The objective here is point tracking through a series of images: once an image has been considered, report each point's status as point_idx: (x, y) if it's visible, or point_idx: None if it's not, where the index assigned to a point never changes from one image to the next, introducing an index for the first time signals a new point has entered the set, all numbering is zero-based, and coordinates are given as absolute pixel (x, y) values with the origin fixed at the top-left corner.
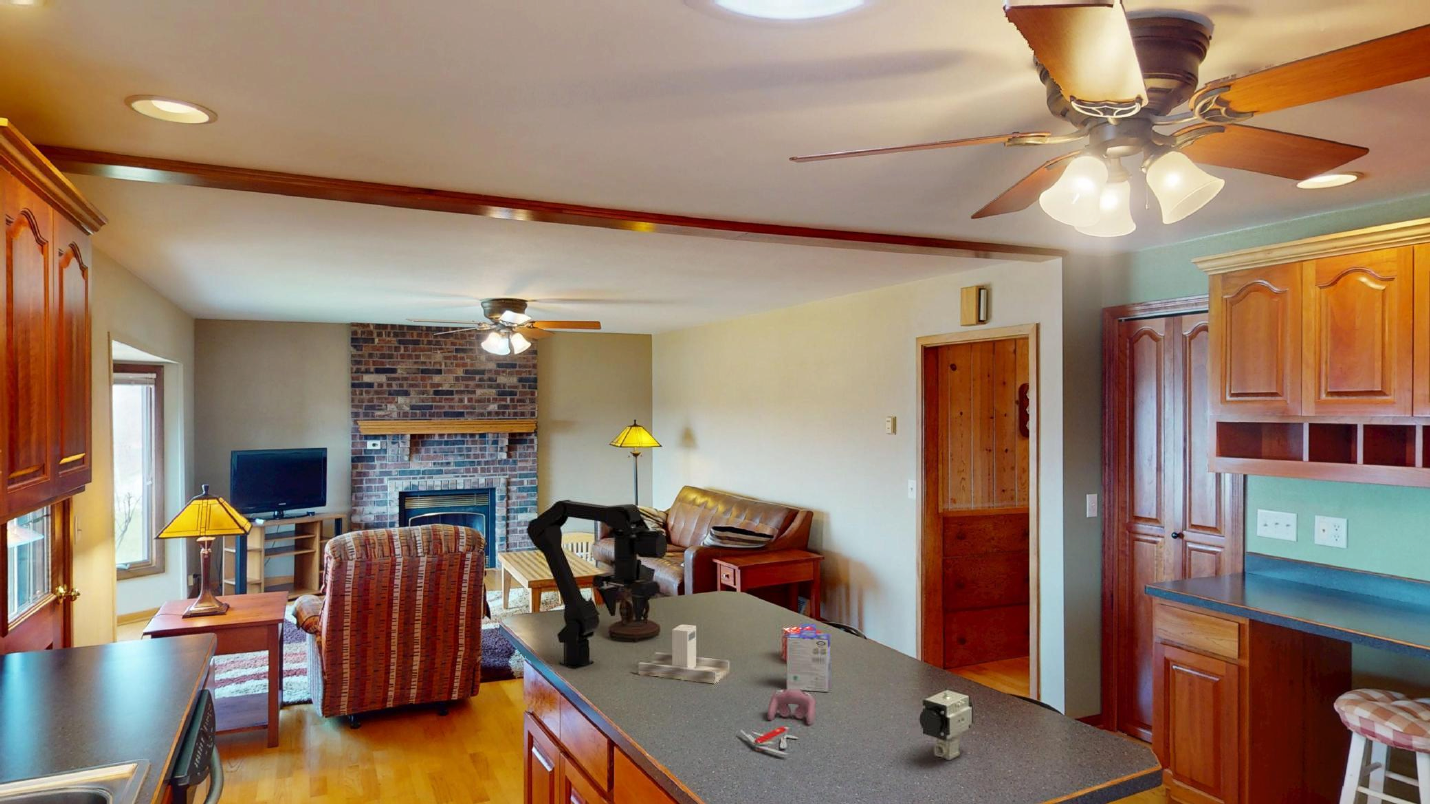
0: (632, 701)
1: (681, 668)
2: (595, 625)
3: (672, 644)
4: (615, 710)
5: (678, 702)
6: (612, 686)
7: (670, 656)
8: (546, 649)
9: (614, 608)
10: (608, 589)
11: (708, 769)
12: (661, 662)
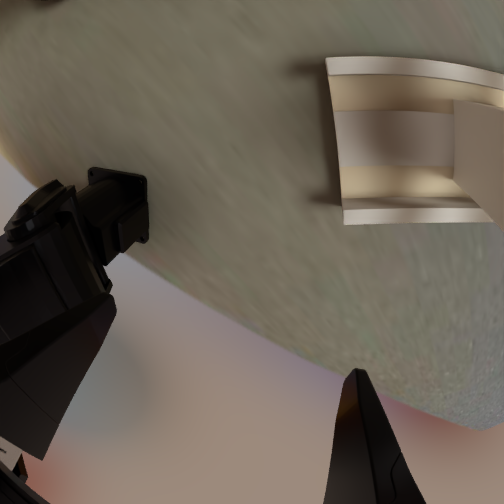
0: (401, 354)
1: None
2: (73, 247)
3: (499, 225)
4: (384, 384)
5: (484, 327)
6: (321, 308)
7: (407, 74)
8: (22, 157)
9: (86, 330)
10: (21, 444)
11: (495, 415)
12: (370, 89)
